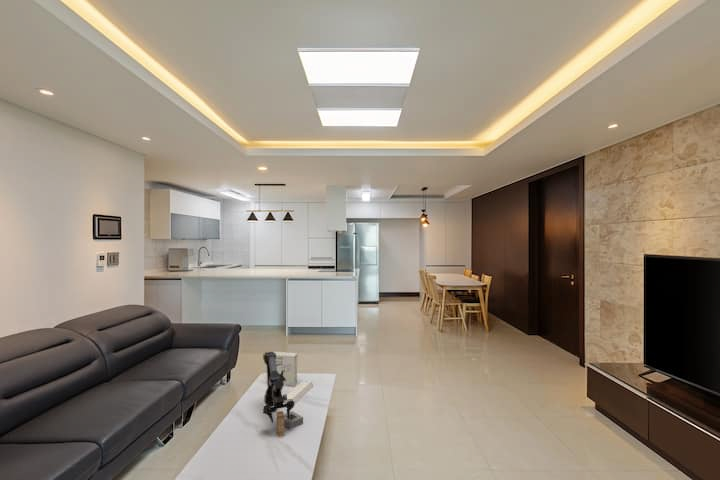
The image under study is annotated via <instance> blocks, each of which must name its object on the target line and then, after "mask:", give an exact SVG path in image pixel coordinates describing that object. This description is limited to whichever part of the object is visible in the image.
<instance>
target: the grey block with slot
mask: <svg viewBox="0 0 720 480" xmlns="http://www.w3.org/2000/svg"><path fill="white" fill-rule="evenodd" d="M303 424H304V416H301V415H300V414H298V413H297V412H295V411H293V410H290V413H289V419H287V412H286V413H284V427H286V428H288V429H289V430H292V429H294V428H296V427H298V426H300V425H303Z"/></svg>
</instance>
